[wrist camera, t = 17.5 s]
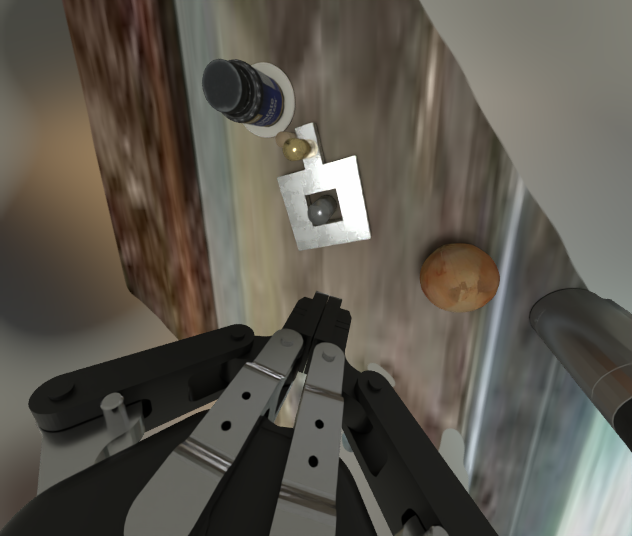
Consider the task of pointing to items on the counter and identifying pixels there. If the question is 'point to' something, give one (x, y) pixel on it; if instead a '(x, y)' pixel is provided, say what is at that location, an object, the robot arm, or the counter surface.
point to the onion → (459, 277)
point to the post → (322, 210)
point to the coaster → (288, 101)
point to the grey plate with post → (320, 179)
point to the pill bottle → (243, 93)
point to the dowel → (284, 137)
